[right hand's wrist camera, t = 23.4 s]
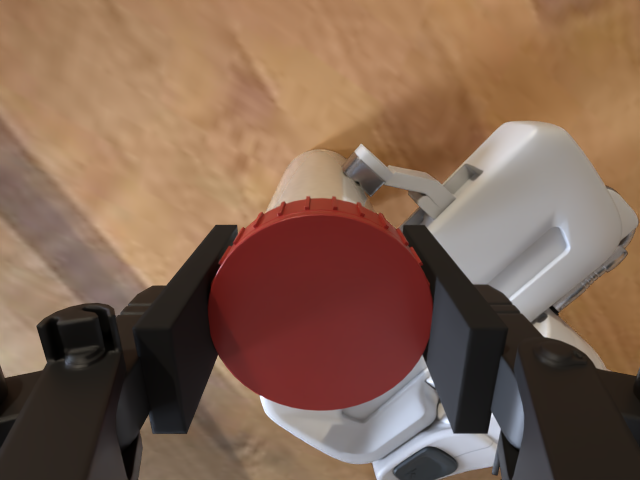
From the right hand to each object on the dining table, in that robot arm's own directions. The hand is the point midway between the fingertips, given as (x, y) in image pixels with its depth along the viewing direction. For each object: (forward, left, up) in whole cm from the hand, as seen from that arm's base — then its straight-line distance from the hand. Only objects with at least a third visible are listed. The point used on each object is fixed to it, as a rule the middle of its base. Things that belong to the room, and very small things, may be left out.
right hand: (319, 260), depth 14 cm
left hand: (0, +1, -5) cm, 5 cm away
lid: (0, 0, +4) cm, 4 cm away
